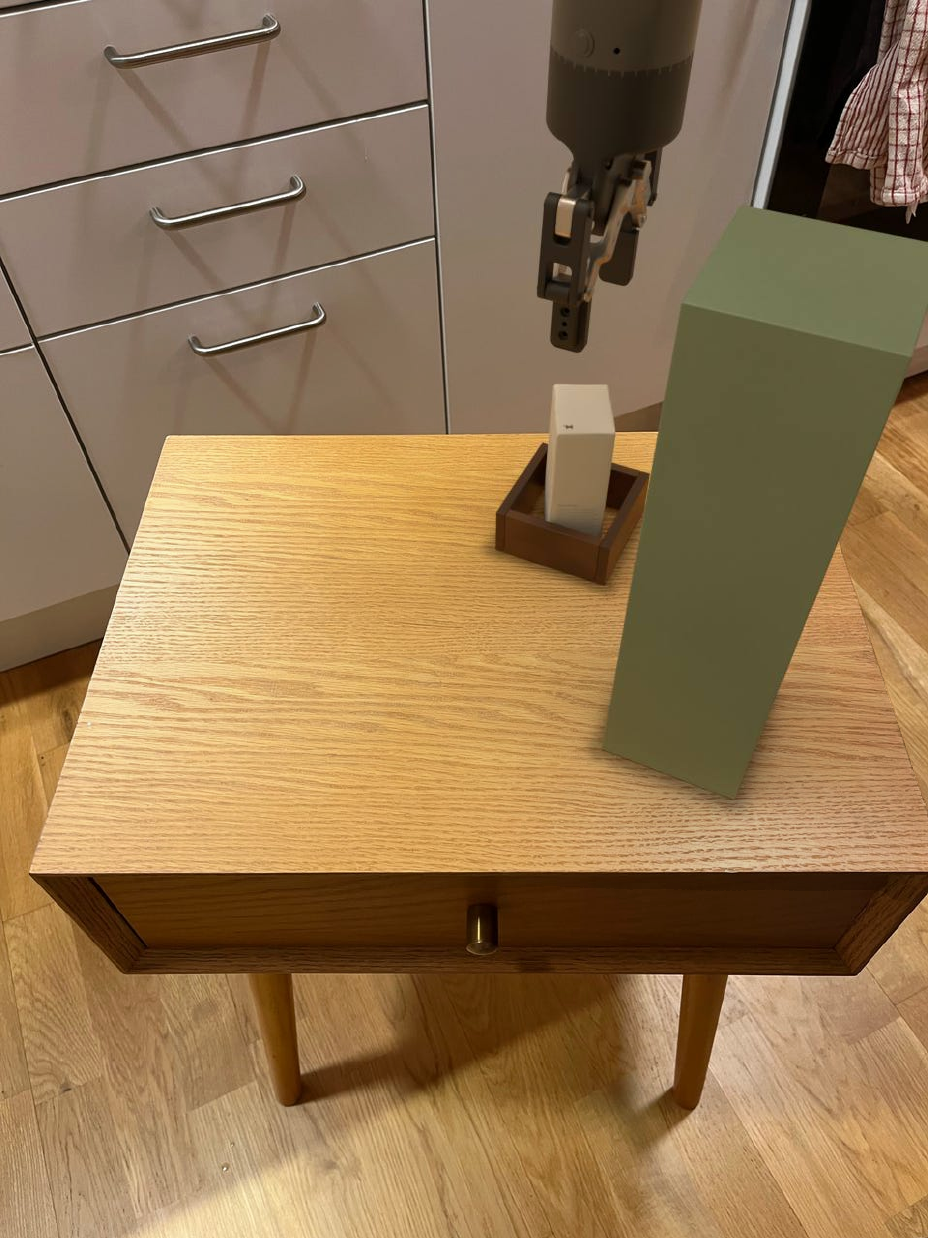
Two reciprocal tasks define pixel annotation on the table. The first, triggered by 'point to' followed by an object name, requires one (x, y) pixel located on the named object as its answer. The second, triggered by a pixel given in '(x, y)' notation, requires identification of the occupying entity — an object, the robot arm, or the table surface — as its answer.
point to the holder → (562, 543)
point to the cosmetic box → (579, 457)
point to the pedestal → (756, 478)
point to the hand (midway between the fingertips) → (592, 312)
